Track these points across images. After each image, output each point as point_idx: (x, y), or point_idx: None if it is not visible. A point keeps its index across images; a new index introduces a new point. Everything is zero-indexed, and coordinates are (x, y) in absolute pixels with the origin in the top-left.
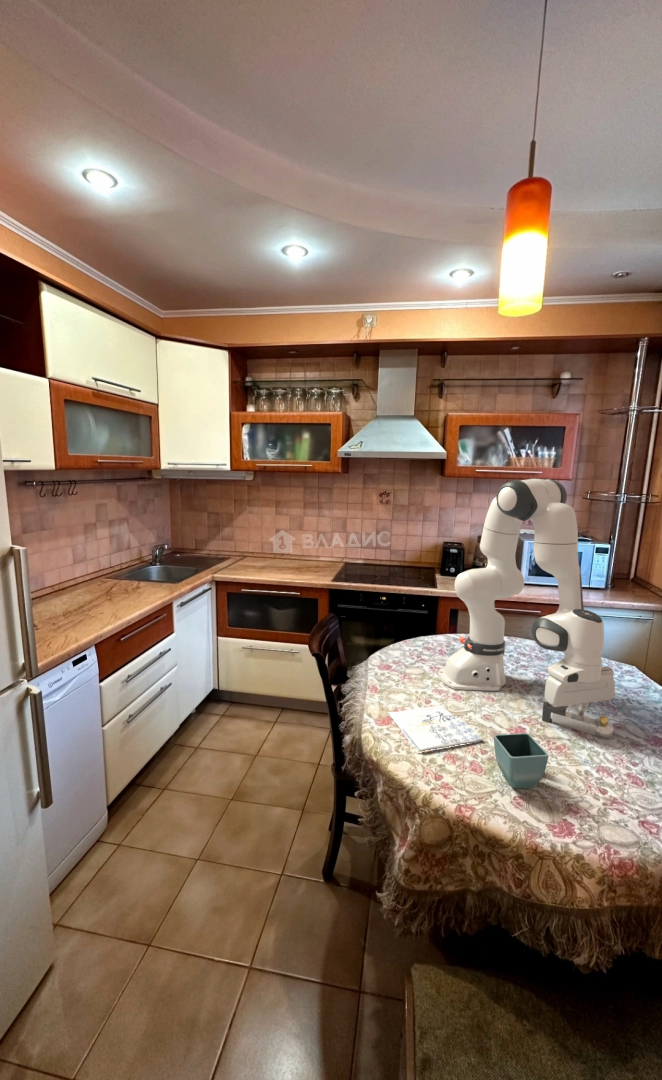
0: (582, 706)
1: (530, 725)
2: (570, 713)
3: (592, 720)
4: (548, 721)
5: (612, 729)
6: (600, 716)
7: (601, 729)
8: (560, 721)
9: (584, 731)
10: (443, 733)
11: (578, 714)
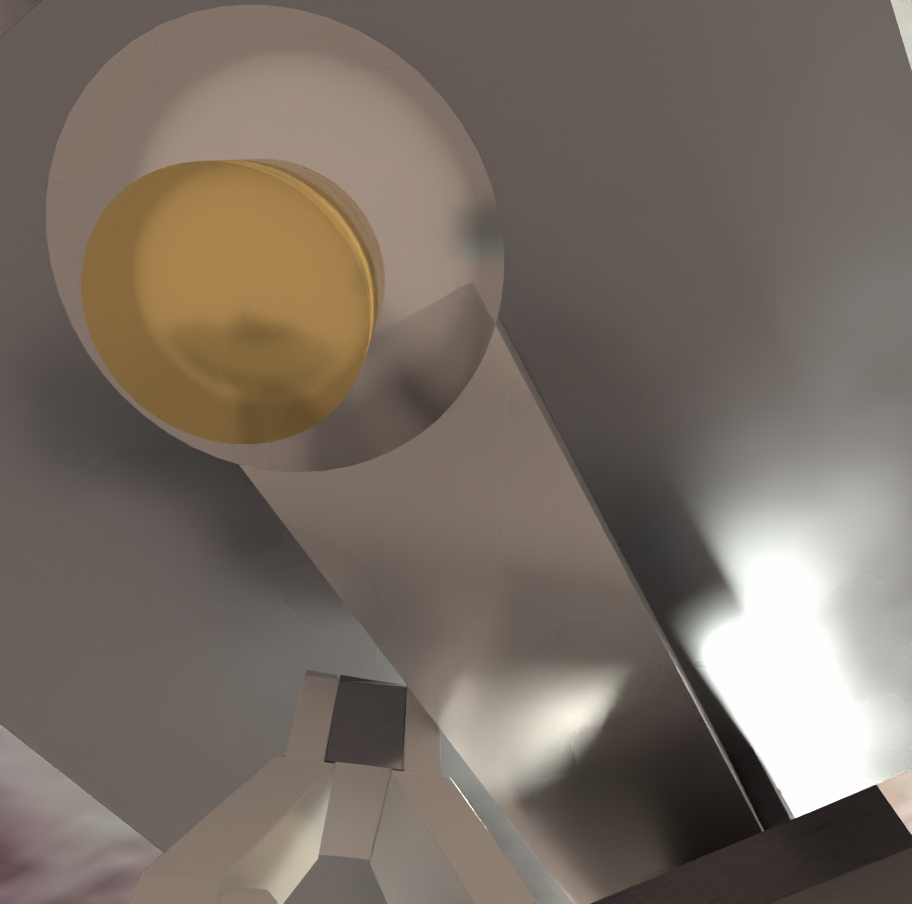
0: (262, 883)
1: (880, 785)
2: (536, 796)
3: (362, 504)
4: (764, 770)
5: (225, 10)
6: (273, 427)
7: (486, 180)
8: (706, 717)
9: (556, 429)
10: None
11: (434, 734)
